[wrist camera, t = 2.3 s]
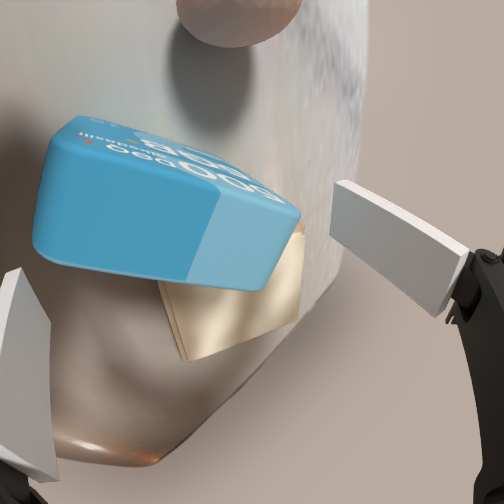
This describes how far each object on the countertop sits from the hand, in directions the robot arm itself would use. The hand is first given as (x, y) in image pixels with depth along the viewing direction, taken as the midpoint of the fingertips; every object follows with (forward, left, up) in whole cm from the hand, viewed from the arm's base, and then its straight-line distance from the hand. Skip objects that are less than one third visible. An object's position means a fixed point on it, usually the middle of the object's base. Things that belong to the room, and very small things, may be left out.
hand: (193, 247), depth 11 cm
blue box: (0, 0, -13) cm, 13 cm away
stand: (+6, -14, -13) cm, 20 cm away
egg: (+6, +11, -13) cm, 18 cm away
